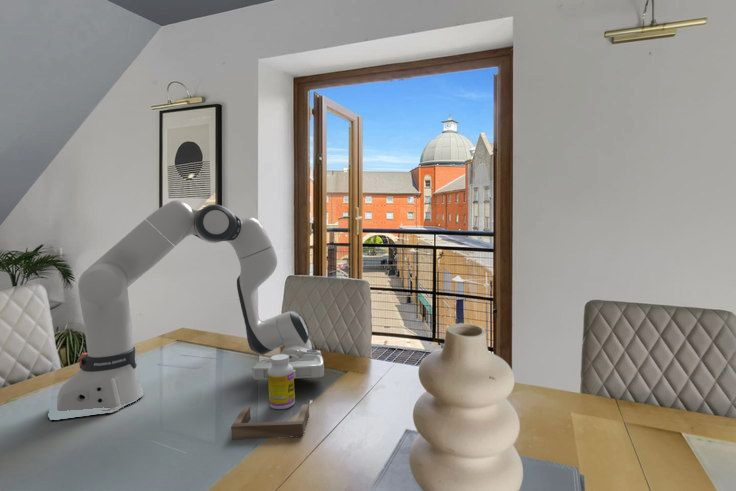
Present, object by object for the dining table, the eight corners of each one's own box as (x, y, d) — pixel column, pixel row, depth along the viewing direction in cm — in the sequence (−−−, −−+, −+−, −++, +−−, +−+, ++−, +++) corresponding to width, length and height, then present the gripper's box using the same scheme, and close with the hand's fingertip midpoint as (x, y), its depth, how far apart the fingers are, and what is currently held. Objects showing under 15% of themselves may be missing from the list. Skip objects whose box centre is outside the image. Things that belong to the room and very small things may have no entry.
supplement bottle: (291, 410, 112) (288, 361, 111) (266, 410, 113) (263, 361, 112) (297, 399, 119) (295, 352, 118) (273, 399, 120) (271, 353, 119)
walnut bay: (244, 418, 109) (243, 406, 109) (309, 416, 109) (308, 404, 109) (231, 439, 99) (231, 426, 99) (302, 436, 99) (302, 423, 99)
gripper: (257, 353, 132) (245, 369, 119) (325, 350, 132) (320, 366, 119) (259, 373, 133) (246, 392, 119) (326, 370, 133) (322, 389, 119)
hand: (284, 379), depth 119 cm, fingers closed, pressing on supplement bottle
